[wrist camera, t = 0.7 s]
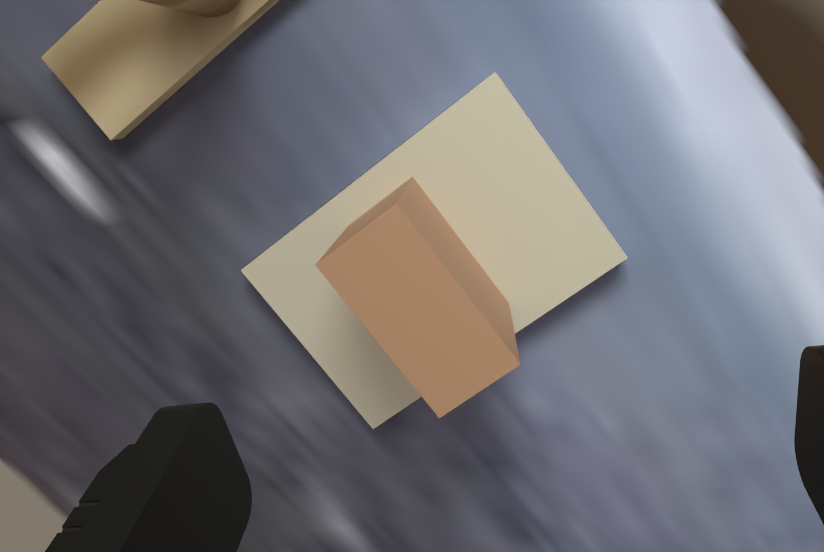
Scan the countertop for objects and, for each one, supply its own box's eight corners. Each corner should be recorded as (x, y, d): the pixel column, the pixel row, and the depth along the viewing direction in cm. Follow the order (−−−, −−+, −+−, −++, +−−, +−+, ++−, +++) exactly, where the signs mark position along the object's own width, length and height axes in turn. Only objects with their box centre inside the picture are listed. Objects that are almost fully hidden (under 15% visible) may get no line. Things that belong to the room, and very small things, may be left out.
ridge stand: (249, 263, 37) (178, 321, 28) (494, 72, 34) (503, 68, 25) (376, 416, 39) (348, 517, 30) (621, 250, 36) (674, 308, 26)
